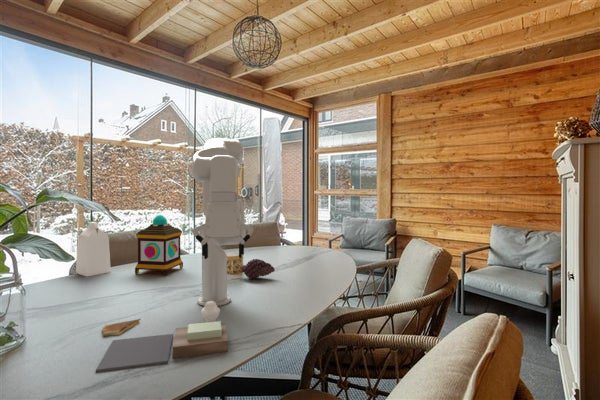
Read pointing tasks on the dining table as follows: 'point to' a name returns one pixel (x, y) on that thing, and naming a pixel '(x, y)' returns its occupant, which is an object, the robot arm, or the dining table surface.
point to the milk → (93, 251)
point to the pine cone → (256, 268)
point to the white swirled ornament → (210, 312)
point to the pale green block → (204, 330)
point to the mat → (136, 352)
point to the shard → (119, 327)
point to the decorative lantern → (159, 246)
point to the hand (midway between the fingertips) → (223, 257)
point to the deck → (198, 344)
